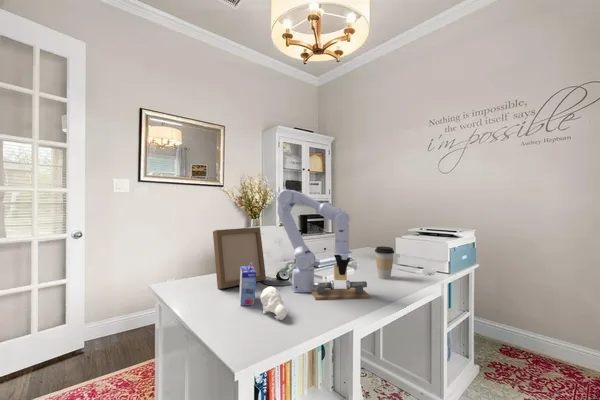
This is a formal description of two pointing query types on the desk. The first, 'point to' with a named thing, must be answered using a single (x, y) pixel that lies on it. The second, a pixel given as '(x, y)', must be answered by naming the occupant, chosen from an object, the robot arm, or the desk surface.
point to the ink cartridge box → (247, 285)
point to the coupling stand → (339, 291)
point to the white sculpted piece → (273, 302)
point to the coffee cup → (384, 261)
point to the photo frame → (237, 254)
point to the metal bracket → (285, 270)
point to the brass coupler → (337, 275)
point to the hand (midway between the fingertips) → (341, 273)
